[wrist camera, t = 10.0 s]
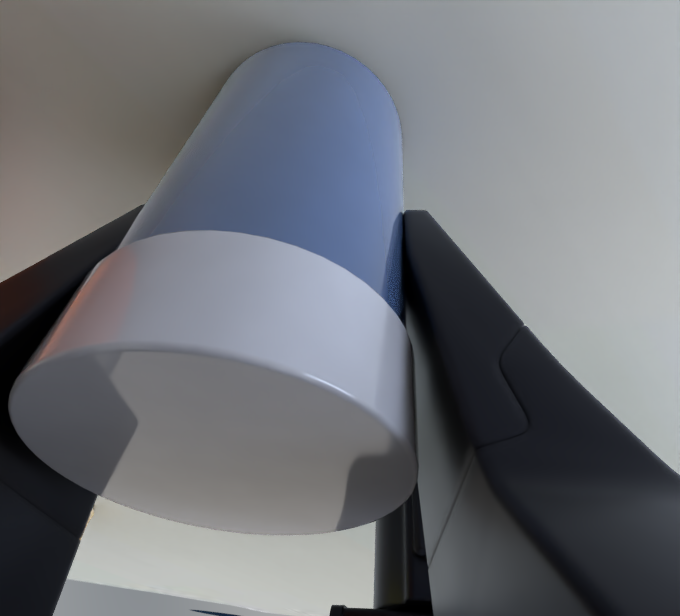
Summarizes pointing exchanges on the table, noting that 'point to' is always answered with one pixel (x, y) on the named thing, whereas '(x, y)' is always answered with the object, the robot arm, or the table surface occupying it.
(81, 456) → the salt shaker
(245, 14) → the table surface
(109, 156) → the table surface
